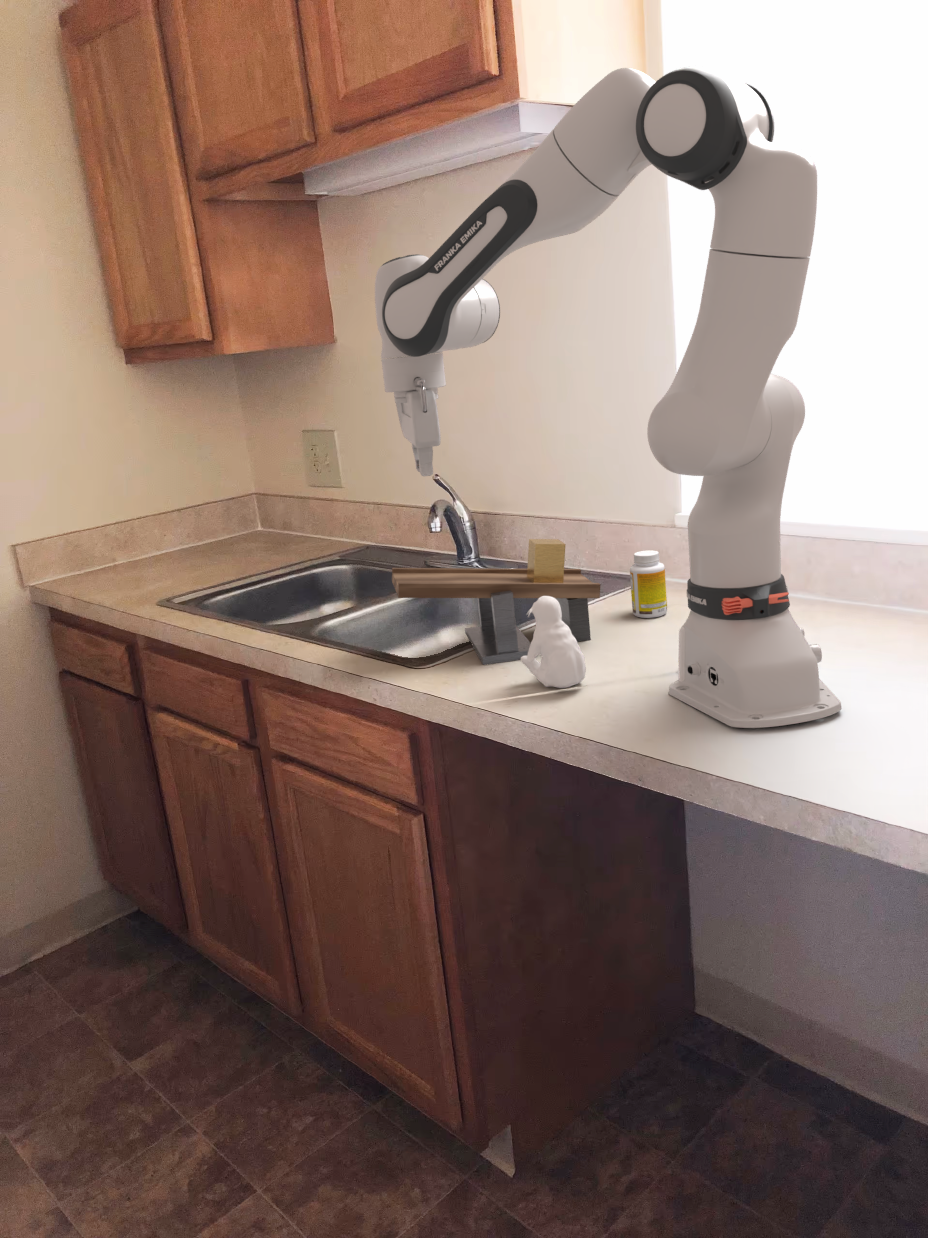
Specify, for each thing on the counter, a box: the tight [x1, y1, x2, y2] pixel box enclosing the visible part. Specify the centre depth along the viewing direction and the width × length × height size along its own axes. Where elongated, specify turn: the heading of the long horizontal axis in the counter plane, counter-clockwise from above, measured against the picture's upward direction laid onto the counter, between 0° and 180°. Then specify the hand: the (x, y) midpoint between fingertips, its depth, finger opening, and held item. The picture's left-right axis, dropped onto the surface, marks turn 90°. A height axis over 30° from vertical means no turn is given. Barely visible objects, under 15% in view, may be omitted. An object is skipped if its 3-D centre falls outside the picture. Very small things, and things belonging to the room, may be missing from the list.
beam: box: [391, 567, 601, 599], centre depth 153 cm, size 12×30×3 cm, turn 99°
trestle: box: [464, 591, 592, 666], centre depth 154 cm, size 17×18×10 cm
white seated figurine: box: [520, 596, 587, 689], centre depth 134 cm, size 6×8×12 cm
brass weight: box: [526, 538, 566, 583], centre depth 153 cm, size 5×5×6 cm
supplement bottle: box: [629, 549, 668, 619], centre depth 162 cm, size 6×6×10 cm
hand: (424, 473), depth 147 cm, fingers open, 4 cm apart
